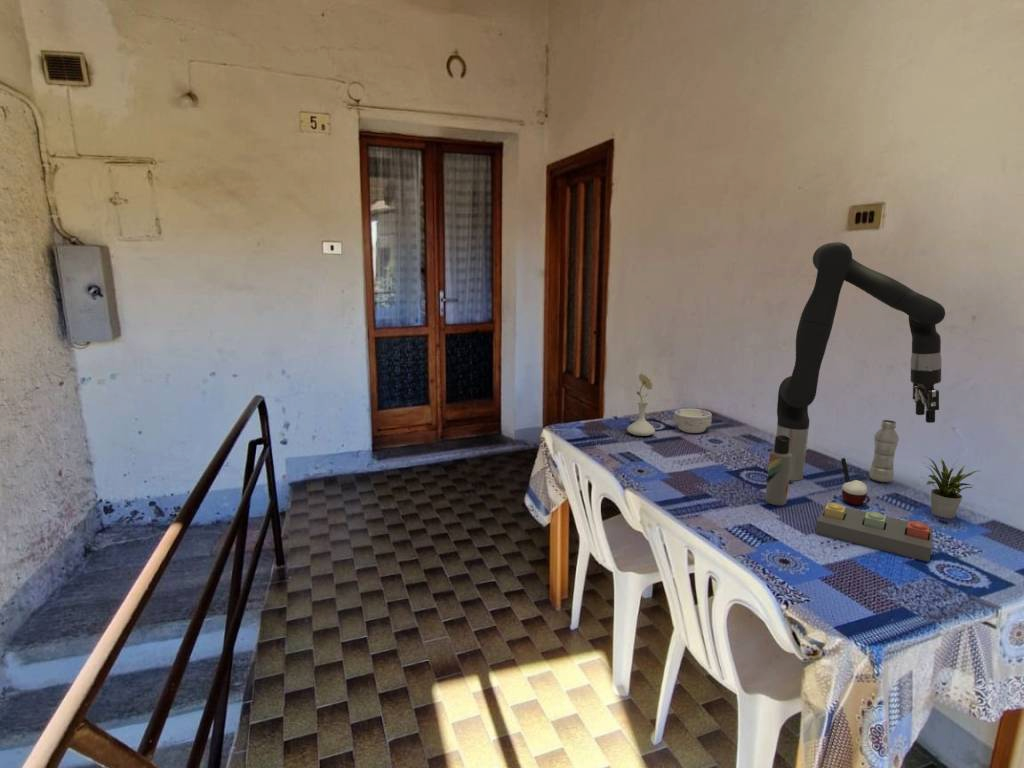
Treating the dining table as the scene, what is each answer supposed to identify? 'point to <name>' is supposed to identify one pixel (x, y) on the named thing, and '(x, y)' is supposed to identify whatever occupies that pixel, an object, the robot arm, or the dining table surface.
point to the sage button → (875, 520)
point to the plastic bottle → (884, 452)
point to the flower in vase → (642, 413)
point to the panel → (875, 534)
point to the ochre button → (835, 511)
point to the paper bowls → (692, 420)
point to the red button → (918, 530)
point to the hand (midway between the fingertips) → (925, 418)
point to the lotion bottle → (779, 472)
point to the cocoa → (853, 489)
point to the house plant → (946, 491)
